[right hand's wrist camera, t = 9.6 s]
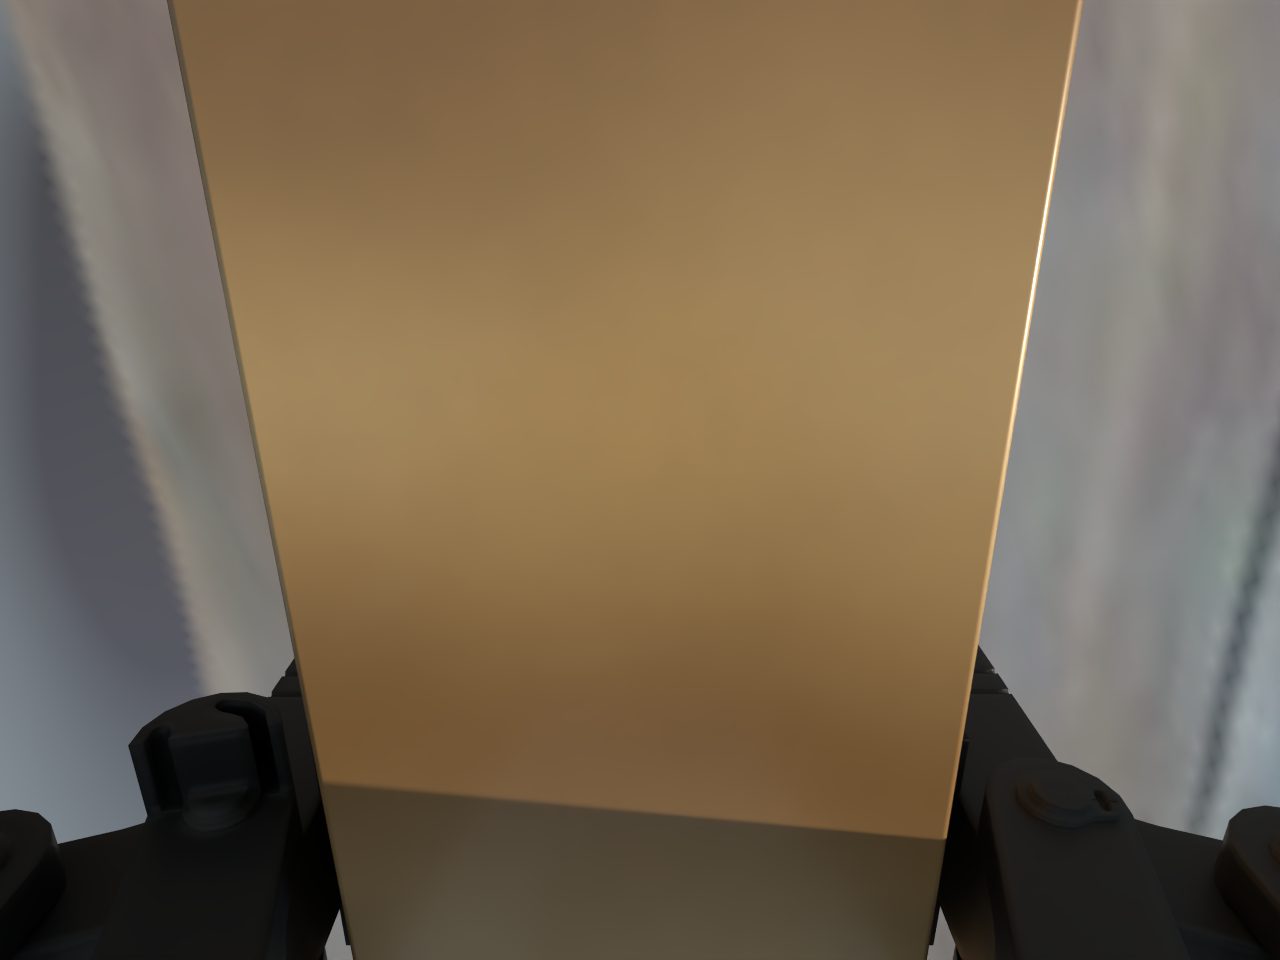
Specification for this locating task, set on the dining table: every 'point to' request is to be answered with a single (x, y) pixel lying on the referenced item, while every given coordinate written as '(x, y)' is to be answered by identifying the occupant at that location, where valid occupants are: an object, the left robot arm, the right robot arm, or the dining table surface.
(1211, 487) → the dining table surface
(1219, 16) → the dining table surface
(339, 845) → the post
